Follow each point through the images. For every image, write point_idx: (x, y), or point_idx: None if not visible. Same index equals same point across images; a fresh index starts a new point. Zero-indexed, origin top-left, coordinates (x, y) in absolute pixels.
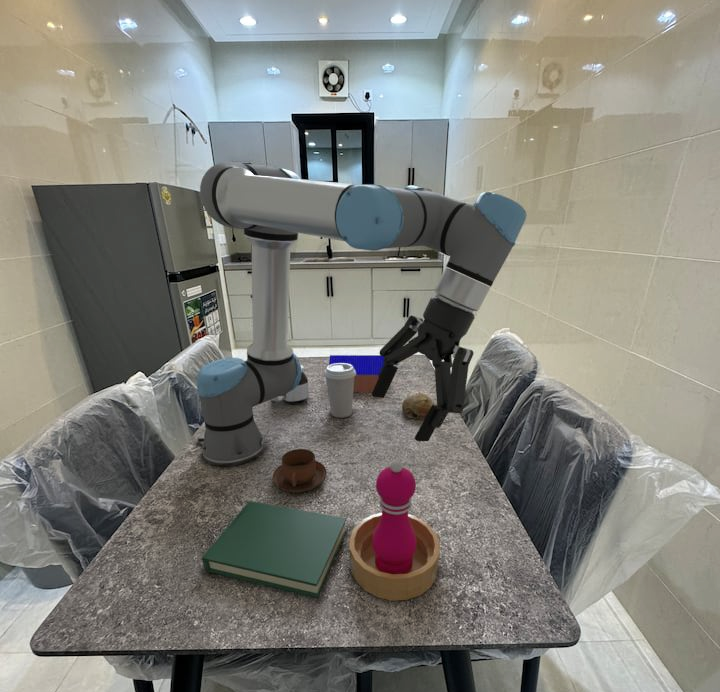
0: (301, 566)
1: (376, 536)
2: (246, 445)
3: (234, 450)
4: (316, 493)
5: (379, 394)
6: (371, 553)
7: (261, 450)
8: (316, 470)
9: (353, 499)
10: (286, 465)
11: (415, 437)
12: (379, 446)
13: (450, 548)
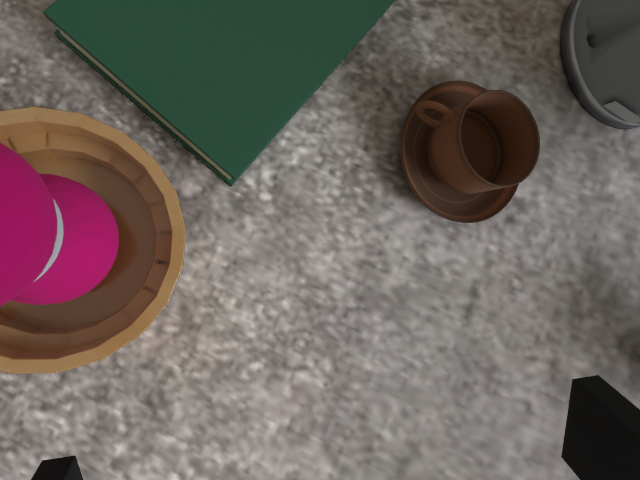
0: (119, 5)
1: (43, 177)
2: (609, 53)
3: (601, 25)
4: (391, 174)
5: (584, 433)
6: (122, 204)
7: (592, 107)
8: (470, 204)
9: (332, 251)
10: (478, 94)
11: (65, 465)
12: (511, 413)
13: (44, 410)
